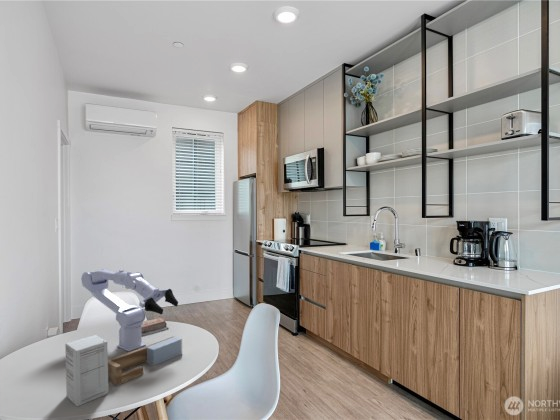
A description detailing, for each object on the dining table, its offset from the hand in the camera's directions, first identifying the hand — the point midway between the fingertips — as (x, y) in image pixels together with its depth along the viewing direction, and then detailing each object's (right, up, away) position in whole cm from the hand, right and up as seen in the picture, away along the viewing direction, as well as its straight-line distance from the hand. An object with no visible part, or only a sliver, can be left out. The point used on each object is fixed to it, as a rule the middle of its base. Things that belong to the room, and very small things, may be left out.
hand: (169, 308), depth 134 cm
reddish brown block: (-21, -20, +28) cm, 40 cm away
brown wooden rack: (-6, -19, -8) cm, 21 cm away
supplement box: (-17, -20, -28) cm, 38 cm away
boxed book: (-1, -19, -2) cm, 19 cm away
